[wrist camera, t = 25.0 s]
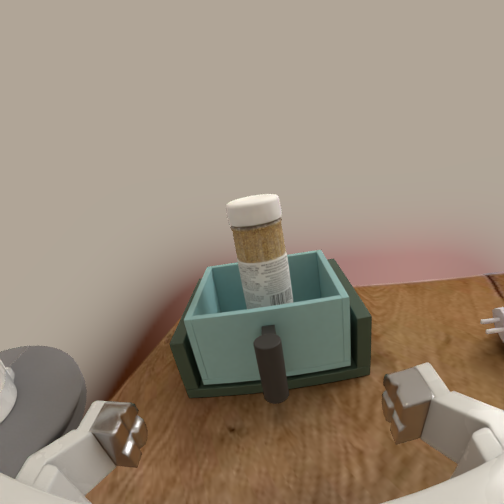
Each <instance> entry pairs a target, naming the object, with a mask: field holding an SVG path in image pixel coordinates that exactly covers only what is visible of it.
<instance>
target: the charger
mask: <svg viewBox="0 0 504 504" xmlns="http://www.w3.org/2000/svg"><path fill="white" fill-rule="evenodd" d="M492 311H493V318H491V319H483V320H481V321H480V323H481V324H489V323H494V324H495V328H493V329H486V334H493V333H498V334H499V336H500V338H501V340H502V342H504V307H502V308H494V309H493V310H492Z"/></svg>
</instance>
